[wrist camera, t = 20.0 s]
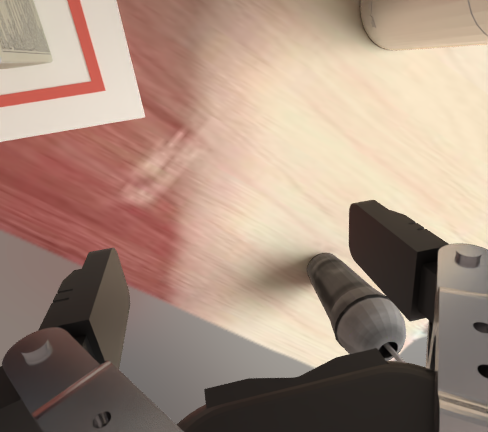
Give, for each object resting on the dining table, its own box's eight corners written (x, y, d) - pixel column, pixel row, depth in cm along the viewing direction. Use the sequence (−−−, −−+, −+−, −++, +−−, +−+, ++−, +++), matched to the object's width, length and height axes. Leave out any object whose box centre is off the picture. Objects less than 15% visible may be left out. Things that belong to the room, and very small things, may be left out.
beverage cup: (315, 235, 46) (414, 346, 27) (358, 254, 48) (474, 367, 30) (287, 280, 47) (362, 412, 29) (329, 297, 50) (422, 427, 32)
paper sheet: (89, -111, 29) (87, -114, 28) (145, 116, 36) (145, 117, 35) (-161, -90, 26) (-167, -93, 26) (-46, 149, 34) (-49, 150, 33)
